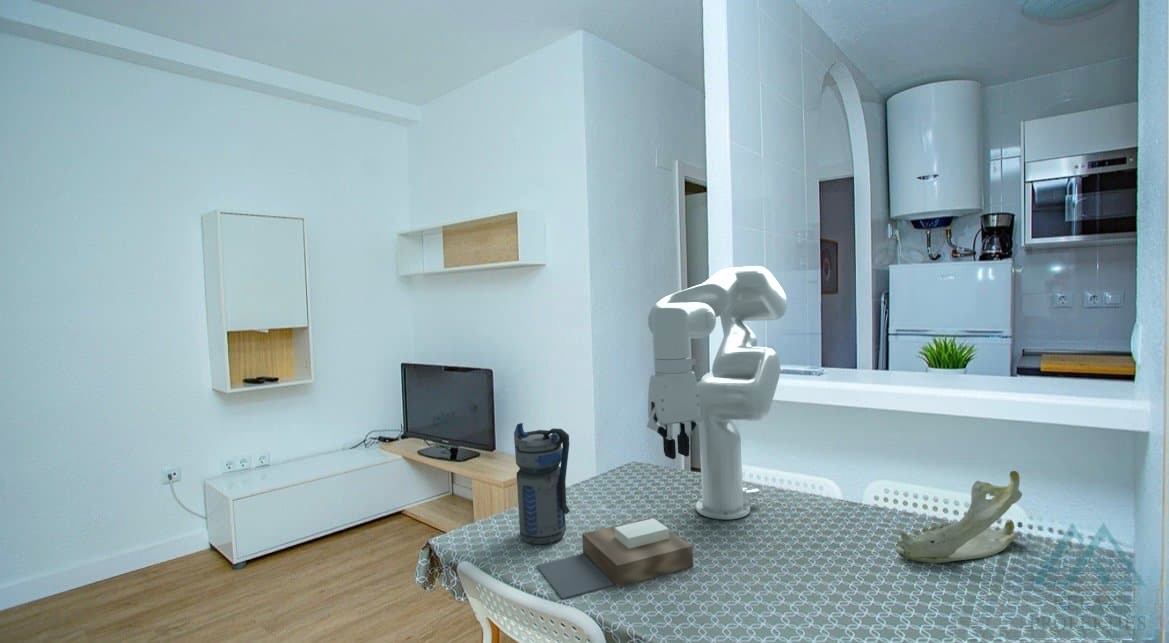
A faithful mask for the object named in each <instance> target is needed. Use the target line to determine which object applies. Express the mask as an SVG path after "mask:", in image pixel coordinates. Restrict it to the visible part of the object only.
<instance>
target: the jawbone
mask: <svg viewBox="0 0 1169 643" xmlns="http://www.w3.org/2000/svg"><path fill="white" fill-rule="evenodd" d="M1009 478H1010V482H1009V484H1007V485H1005V486H1004V485H1003V486H998V485H994V484H991V483H989V482H986V481H985V482H984V481H980V480H976V481H974V483H973V484H972V487H971V493H970V496H971V500H970V505H969V508H968V509H967V512H966V513H965V515H964V516H963V517H962V518H961V519H960V520H959V521H957V522H955V523H954V524H953V523H952V524H951V525H950V522H946V521H944V520H943V519H941V520H940V525H937V524H936V523H935V522H931V523H930V528H929V527H928V526H926V525H922V529H921V531H922V532H923V533H921V531H920V530H917V529H913V534H914V535H916V536H917V537H914V536H911V535H909V534H908V533H906V531H904V530H903V528H901V527H899V530H898V531H899V535H900V538H901V540H897V539H896V544H895V546H896V548H895V552H896V553H899V554H901V555H902V556H903V557H906V559H908V560H910V561H915V562H922V563H928V564H944V563H950V562H957V561H967V560H974V559H981V558H987V557H990V556H993V555H996V554H999V553H1000V552H1002V551H1004V550H1005V549H1006V548H1007V546H1008V545H1010V544H1011V543H1012V542H1013V541H1015V540H1016V539H1017V538H1018V533H1017V532H1014V530H1015V523H1014V521H1013V520H1012V519H1008V520H1006V522H1005V523H1004V526H1003V527H1002V528H1001V529H999V530H992V529H988V528H990V526H992V525H993V524H994V523H995V522H997V521H998V520H1000V519H1001V517H1002V516H1003V515H1005V513H1006V512H1007V511H1009V509H1010V508H1011V507H1012V505H1014V504H1016V503H1017V502H1019V501H1020V500H1021V498H1022V496H1023V493H1022V491H1020V490H1019V487H1020V475H1019V472H1018V471H1016V470H1012V471H1010V472H1009ZM988 494H989V497H992V498H991V499H990V498H987V495H988Z"/></svg>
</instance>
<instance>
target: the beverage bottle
mask: <svg viewBox="0 0 1169 643" xmlns="http://www.w3.org/2000/svg"><path fill="white" fill-rule="evenodd" d="M523 424H524V423H523V422H520V423H517V424H516V426H515V430H514V433H513V438H514V439H513V440H514V455H515V457H514V458H515V464H516V466H517V467H518V468H519V470H518V471H516V474H515V475H516V487H517V488H516V489H517V506H518V508H517V509H518V521H519V522H518V523H519V525H518V526H519V535H520V536H521V538H522V540H524V541H525V542H526V543H530V544H534V545H545V544H546V543H547V544H551V543H554V542H557V541H559V540H560V539H562V538H563V537H564V535H565V532H566V530H567V526H566V522H567V521H566V515H567V514H568V513H570V511H571V510H570V509H569V507H568V506H567V489H566V487H567V486H566V481H567V480H566V478H567V469H568V461H569V450H570V435H569V434H568V433H567V432H566V431H565V430H564V429H562V428H554V427H553V428H551V429H550V430H545V429H537V430H532V431H525V430H524V426H523ZM547 544H546V545H547Z"/></svg>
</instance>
